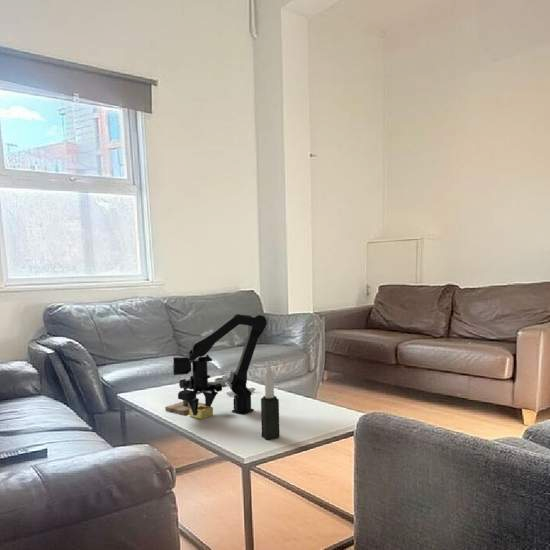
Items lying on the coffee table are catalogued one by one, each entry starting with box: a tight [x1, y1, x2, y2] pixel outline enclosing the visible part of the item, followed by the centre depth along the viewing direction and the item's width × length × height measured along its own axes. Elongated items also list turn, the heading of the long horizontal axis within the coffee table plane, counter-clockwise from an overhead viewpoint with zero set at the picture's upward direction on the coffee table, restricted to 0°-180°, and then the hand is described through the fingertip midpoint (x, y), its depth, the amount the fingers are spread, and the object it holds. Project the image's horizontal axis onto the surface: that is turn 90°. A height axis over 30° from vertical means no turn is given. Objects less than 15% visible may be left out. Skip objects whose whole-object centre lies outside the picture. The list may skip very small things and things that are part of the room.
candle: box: [260, 362, 281, 441], centre depth 161 cm, size 5×5×25 cm
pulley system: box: [208, 374, 230, 387], centre depth 239 cm, size 27×5×15 cm
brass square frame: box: [188, 405, 214, 420], centre depth 187 cm, size 6×6×3 cm
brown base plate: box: [164, 400, 206, 416], centre depth 197 cm, size 11×12×6 cm
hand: (201, 413), depth 187 cm, fingers closed on brass square frame, 6 cm apart
